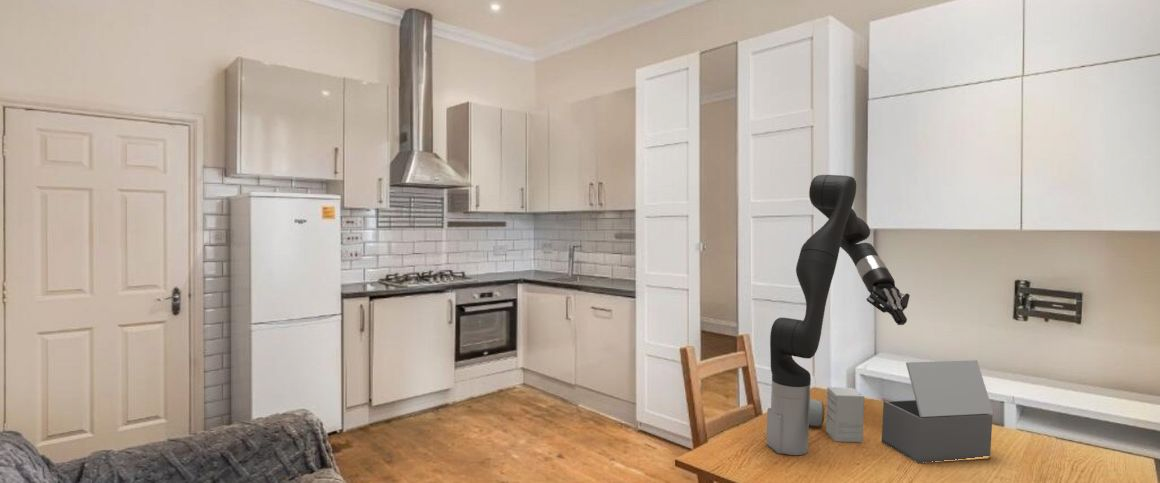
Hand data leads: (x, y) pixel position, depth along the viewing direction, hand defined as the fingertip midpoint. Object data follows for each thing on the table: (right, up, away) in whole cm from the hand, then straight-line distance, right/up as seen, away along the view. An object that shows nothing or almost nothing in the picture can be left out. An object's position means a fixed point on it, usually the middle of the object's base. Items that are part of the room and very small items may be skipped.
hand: (902, 323), depth 157 cm
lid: (+3, -14, -16) cm, 21 cm away
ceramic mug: (-24, -30, +7) cm, 39 cm away
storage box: (+2, -31, -11) cm, 33 cm away
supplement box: (-18, -30, -3) cm, 36 cm away
